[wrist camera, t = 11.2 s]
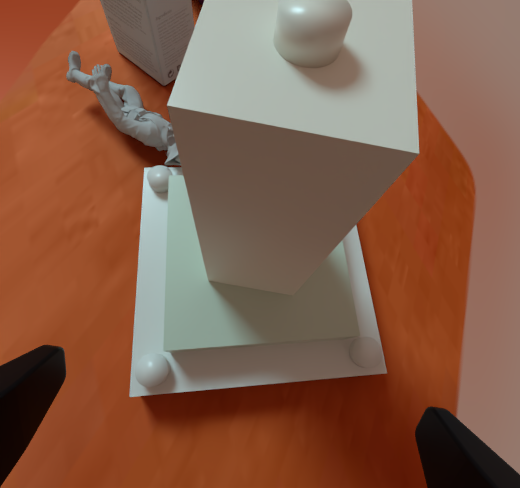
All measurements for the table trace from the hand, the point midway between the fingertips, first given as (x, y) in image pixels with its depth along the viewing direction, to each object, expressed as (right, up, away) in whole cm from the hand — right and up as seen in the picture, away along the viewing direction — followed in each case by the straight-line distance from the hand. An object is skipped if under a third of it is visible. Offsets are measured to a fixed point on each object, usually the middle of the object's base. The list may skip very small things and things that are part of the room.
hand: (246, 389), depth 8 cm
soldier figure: (-9, +13, +17) cm, 23 cm away
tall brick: (0, +3, +10) cm, 10 cm away
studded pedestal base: (0, +2, +14) cm, 14 cm away
